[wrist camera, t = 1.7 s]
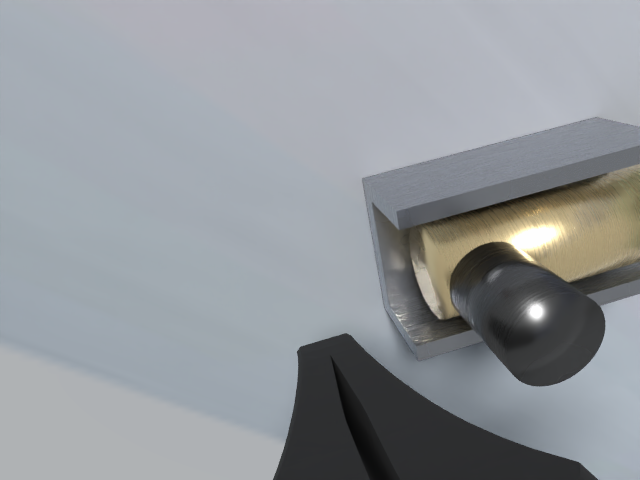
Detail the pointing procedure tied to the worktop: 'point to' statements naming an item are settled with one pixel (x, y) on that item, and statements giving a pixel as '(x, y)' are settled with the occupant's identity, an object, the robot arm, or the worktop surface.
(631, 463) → the worktop surface
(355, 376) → the robot arm
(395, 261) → the grey u channel
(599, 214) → the sliding bolt
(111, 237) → the worktop surface
